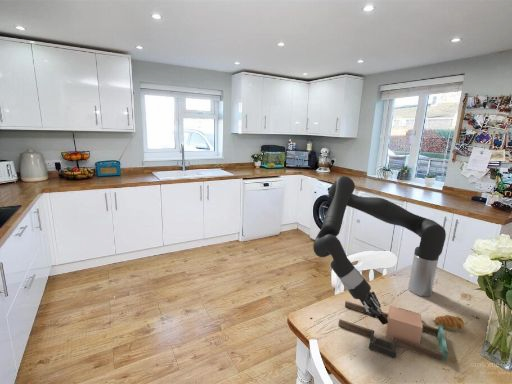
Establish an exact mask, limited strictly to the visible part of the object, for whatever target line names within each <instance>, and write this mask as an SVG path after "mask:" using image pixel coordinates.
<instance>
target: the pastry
mask: <svg viewBox="0 0 512 384" xmlns="http://www.w3.org/2000/svg"><path fill="white" fill-rule="evenodd" d="M433 321H434V323H435V324H436V325H437V326H439V324H441V325H442V326H443V329H446V330H448V331H454V332H457V333H458V332H459V333H464V332H466V325H465V322H464V320H463V318H461V317H460V316H453V315H450V314H446V315H441V316H436V317H435V318H434V319H433Z"/></svg>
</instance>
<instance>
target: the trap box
mask: <svg viewBox="0 0 512 384" xmlns="http://www.w3.org/2000/svg"><path fill="white" fill-rule="evenodd" d="M344 303H345V304H344V307H345V308H348V309H352V310H355V311H358V312H360V313H364V314H366V313H365V312H364V310H366V309H365V306H364V305H360V304H357V303H353V302H351V301H347V300H345V302H344ZM399 308H400V309H404V308H401V307H399ZM404 310H407V311H411V312H413V311H412V310H408V309H404ZM414 312H415V311H414ZM382 313H383V314H384V315H385V317H386V318H388V312H383V311H382ZM415 313H418V314H420V313H419V312H415ZM338 326H339V327H341V328H345V329H348V330H350V331H353V332H356V333H360V334H362V335H365V336H368V337H370V338H369V345H368V349H369V350H370V351H373V352H376V353H379V354H381V355H383V356H387V357H390V358H393V359H394V358H396V357H397V353H398V352H397V350H398V349H397V348H398V347H400V348H403V349H405V350H408V351H411V352H414V353H417V354H420V355H424V356H426V357H429V358H431V359H434V360H437V361H441V362H443V363H446V361H447V358H448V354H449V351H448V350H449V349H448V345H447V341H446V340H447V339H446V336H445V331H444V328H443V326H442V325H441V324H439V326H438V325H437V326H438V327H433V326H430V325H427V324H424V323H422V326H423V329H422V332H425V333H429V334H432V335H436V337H437V342H438V347H439V352H438V351H436V350H433V349H430V348H428V347H424V346H421V345H416V344H413V343H410V342H407V341H404V340H401V339H398V338H395V337H394V338H393V339H392V342H390V341H387V340H384V339H381V338H378V337H375V331H376V330H373V329H370V328H367V327H364V326H361V325H359V324H355V323H352V322H349V321H346V320H344V319H340V318H339V320H338Z"/></svg>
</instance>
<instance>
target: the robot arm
mask: <svg viewBox="0 0 512 384" xmlns="http://www.w3.org/2000/svg"><path fill="white" fill-rule="evenodd" d="M355 189H356V185H355V182H354V180H353V179H352V178H351V177H349V176H347V175H341V176H338V177H337V178H336V179H335V180H334V182H333V183H332V184H331V186H330V187H329V189H328V191H327V193H328V196H329V198H330V199H331V200H332V201H331V203H330V205H329V207H328V209H327V211H326V213H325V216H324V219H323V222H322V227H321V229H320V230H319V231H318V233H317V235H316V236H315V239H314V241H313V244H312V248H313V252H314V254H315V255H316V256H317V257H319V258H326V257H328V256H331V257H332V259H333V260H332V261H331V263H330V268H331V269H332V271H334V274H335V275H336V276H337V278H339V280H340V282H341V284H342V285H343V286H344V287H345V289H346V290H347V291H348V293H349V294H350V295H351V297H352V298H353V299H354V300H359V301H360V303H361V304H362V306H364V307H365V309H366V310H364V312H365V313H364V312H363V313H364V314H366V315H367V316H369V317H371V318H373V319H374V318H377V319H378V321H379V322H380V323H381V324H382V325H387V323H388V319H387V318H386V317H385V315H384V314H383V313H382V312H383V309H382V306H381V304H380V301H379V299H378V297H377V295H376V293H375V292H374V291H371V289H372V287H371V285H370V284H369V282H368V281H367V280H366V279H365V277H364V276H363V275H362V274H361V272H360V271H359V270H358V269H357V268H356V267H355V266H354V264H353V263H352V262H351V260H350V259H349V257H348V256H347V254H346V252H345V249H344V247H343V245H342V243H341V241H340V239H339V238H338V237H337V236H339V234H340V232H341V228H342V224H343V219H344V215H345V212H346V209H347V207H349V208H353V209H355V210H358V211H360V212H362V213H365V214H367V215H369V216H371V217H373V218H375V219H377V220H379V221H382V222H384V223H386V224H390V225H393V226H398V227H402V228H405V229H407V230H408V231H410V232H412V233H413V234H415V235H417V236H418V237H419V238H420V242H419V245H418V246H417V247H416V248H415V249H414V251H413V252H414V253H413V254H414V255H413V258H412V265H411V271H410V275H409V280H408V287H407V288H408V290H409V291H410V293H412V294H414V295H417V296H419V297H430V296H432V292H433V287H434V282H435V279H436V278H435V277H436V272H437V268H438V262H439V257H440V256H441V255H442V253H443V251H444V250H443V249H444V246H445V241H446V235H447V233H446V230H445V228H444V227H443V226H442V225H440V223H438V222H436V221H435V220H433V219H430V218H426V217H423V216H420V215H418V214H415V213H413V212H411V211H408V210H407V209H405V208H404V207H402V206H400V205H398V204H397V203H394V202H392V201H390V200H387V199H385V198H381V197H377V196H375V197H373V196H372V197H371V196H370V197H369V196H367V197H366V196H359V195H357V194H354V191H355Z"/></svg>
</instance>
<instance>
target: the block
mask: <svg viewBox="0 0 512 384" xmlns="http://www.w3.org/2000/svg"><path fill="white" fill-rule="evenodd" d="M400 308H401V307H396V306H392V305H389V306H388V312H387V313H388V318H387V319H388V323H387V324H385V325H386V327H385V328H386V329H385V330H386V332H385V335H386V336H385V337H386V338H389V339H392V340H393V338H394V337H395V338H398V339H401V340H404V341H407V342H410V343H413V344H416V345H419V346H421V345H420V343H421V340H422V335H423V331H422V329H423V326H422V324H423V320H422V314H421V313H419V312H416V313H415V311H412V310H409V311H407V310H408V309H405V310H404V308H402V309H400ZM411 311H412V312H411ZM418 313H419V314H418Z"/></svg>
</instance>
